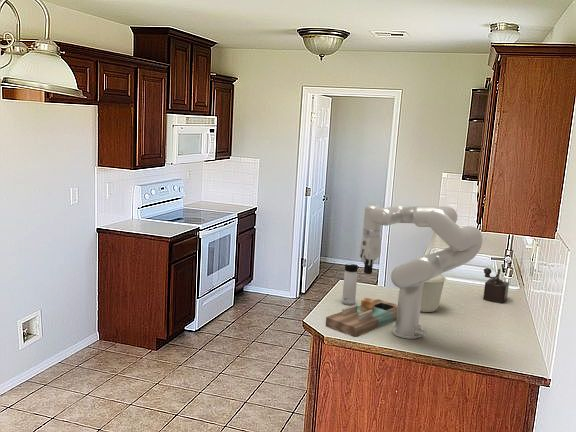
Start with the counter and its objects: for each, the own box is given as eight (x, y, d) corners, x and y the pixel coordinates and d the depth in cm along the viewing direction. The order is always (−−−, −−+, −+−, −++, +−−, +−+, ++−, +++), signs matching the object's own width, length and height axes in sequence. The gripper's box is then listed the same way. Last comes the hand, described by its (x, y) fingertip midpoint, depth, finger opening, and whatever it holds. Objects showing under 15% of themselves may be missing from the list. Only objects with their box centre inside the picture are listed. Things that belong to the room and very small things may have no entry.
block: (374, 309, 260) (375, 299, 259) (371, 313, 255) (371, 302, 254) (363, 307, 262) (364, 297, 261) (360, 310, 257) (361, 300, 256)
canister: (449, 314, 272) (454, 271, 268) (416, 316, 266) (420, 272, 262) (429, 301, 289) (433, 261, 285) (397, 303, 283) (401, 262, 279)
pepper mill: (486, 294, 306) (489, 262, 303) (507, 299, 300) (511, 266, 297) (478, 302, 293) (482, 268, 290) (501, 306, 287) (505, 272, 284)
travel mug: (345, 305, 275) (348, 265, 272) (340, 301, 282) (343, 262, 278) (357, 305, 277) (360, 265, 273) (352, 301, 283) (355, 262, 280)
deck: (405, 316, 266) (407, 301, 264) (355, 336, 237) (356, 320, 236) (377, 306, 276) (378, 293, 275) (325, 325, 248) (326, 310, 246)
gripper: (368, 236, 242) (365, 278, 245) (387, 232, 253) (384, 272, 256) (354, 233, 247) (351, 274, 250) (373, 229, 258) (370, 268, 261)
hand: (367, 273), depth 253 cm, fingers closed
